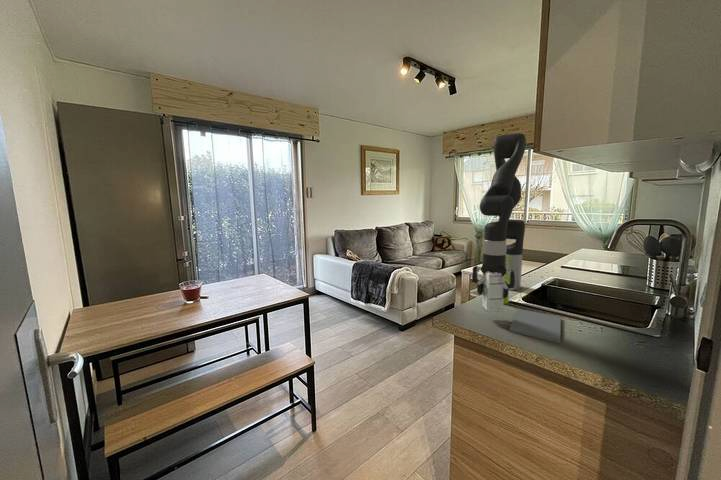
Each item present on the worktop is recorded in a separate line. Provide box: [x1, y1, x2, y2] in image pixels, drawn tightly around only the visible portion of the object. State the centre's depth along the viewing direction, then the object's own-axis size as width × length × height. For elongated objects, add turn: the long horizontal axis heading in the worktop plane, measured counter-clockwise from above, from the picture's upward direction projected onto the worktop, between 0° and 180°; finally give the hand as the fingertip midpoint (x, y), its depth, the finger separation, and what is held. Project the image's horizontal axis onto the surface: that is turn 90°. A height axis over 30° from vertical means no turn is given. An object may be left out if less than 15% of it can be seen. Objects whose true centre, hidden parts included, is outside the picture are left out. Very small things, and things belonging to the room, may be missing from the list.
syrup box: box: [481, 272, 504, 313], centre depth 104 cm, size 6×6×14 cm
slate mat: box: [509, 308, 562, 344], centre depth 100 cm, size 20×14×1 cm
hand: (492, 295), depth 104 cm, fingers closed on syrup box, 7 cm apart
